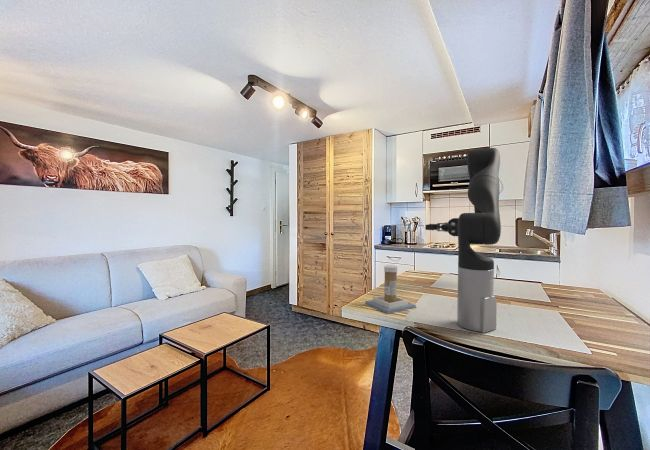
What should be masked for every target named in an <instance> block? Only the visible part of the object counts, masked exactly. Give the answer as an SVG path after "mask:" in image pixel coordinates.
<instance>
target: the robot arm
mask: <svg viewBox="0 0 650 450" xmlns="http://www.w3.org/2000/svg"><path fill="white" fill-rule="evenodd" d="M466 159H467V160H466V166H467V171H468V172H467V173H468V178H469V183H468V188H467V198H468V200H469V202H470V203H471V204H472V205H473V208H474V209H473V211H474V212H463V213H461V214H460V215H459V216H458V217H455V218H451V219H449V220H448V221H447V222H437V223H428V224H425V228H424V229H425V231H437V232H444V233H448V234H449V235H450V236H452V237H457V240H458V241H457V243H458V245H457V246H458V250H457V251H458V255H457V256H458V259H457V304H456V305H457V306H456V307H457V308H456V309H457V312H456V313H457V314H456V316H457V317H456V322H457V325H458V326H459V327H462V328H464V329H466V330H468V331H474V332H479V333H482V334H484V333H488V332H491V331H494V330H496V329H497V309H498V308H497V304H498V303H497V302H498V301H497V300H498V297H497V295H494V284H495V281H494V279H495V261H494V259H493V258H491V257H489V256H487V255H484V254H481V253H479V252H477V251H475V250H474V249H473V248H472V247H471V245H479V246H480V245H481V246H483V245H484V246H490V245H491V246H492V245H496V244H498V242H499V241H500V240H501V239H500V238H501V234H502V225H501V216H500V207H499V205H500V204H499V201H500V177H499V175H500V174H499V173H500V166H501V165H500V164H501V154H500V151H499V149H497V148H496V147H487V148H480V149H472V150H470V151H469V152H468V153H467V158H466Z"/></svg>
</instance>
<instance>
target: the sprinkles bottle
mask: <svg viewBox="0 0 650 450" xmlns="http://www.w3.org/2000/svg"><path fill="white" fill-rule="evenodd" d="M383 272H384V287H383V288H384V290H383V291H384V293H383V294H384V295H383V296H384V301H386V302H388V303H392V302H397V301H396V296H397V295H398V294H397V293H398V287H397V286H398V285H397V284H398V280H397V278H398V276H397V273H398V266H397V265H392V264H388V265H385V266H383Z"/></svg>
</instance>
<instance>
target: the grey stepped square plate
mask: <svg viewBox="0 0 650 450" xmlns="http://www.w3.org/2000/svg"><path fill="white" fill-rule="evenodd" d="M396 301H397V302H392V303H388V302H386V301H384V295H380V296H374V297H373V298H372V300H371V299H370V300H366V301H365V305H367V306H368V307H371V308H374V309H376V310H378V311H380V312H381V313H382V312H383V313H384V314H386V315H389V314H393V313H399V312H403V311H407V310H412V309H416V308H417V306H416V305H417V304H414V303H412V302H409V301H408V300H407V299H405V298H402V297H399V296H397V295H396Z"/></svg>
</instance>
